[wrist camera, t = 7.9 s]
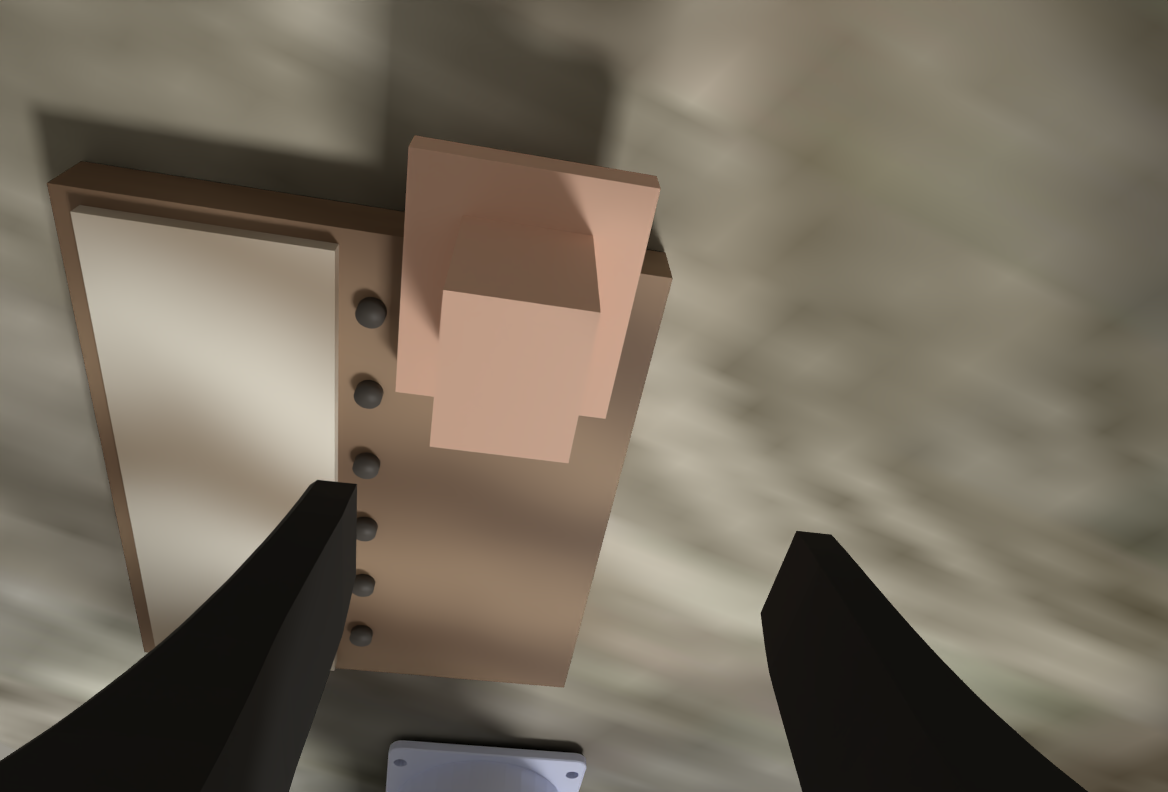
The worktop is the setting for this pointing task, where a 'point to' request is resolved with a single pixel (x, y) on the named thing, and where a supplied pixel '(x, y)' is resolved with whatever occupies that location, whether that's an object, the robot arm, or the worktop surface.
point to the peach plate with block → (516, 292)
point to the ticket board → (320, 424)
